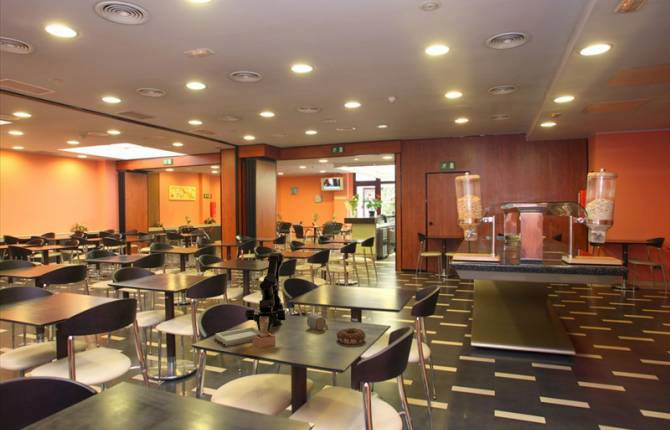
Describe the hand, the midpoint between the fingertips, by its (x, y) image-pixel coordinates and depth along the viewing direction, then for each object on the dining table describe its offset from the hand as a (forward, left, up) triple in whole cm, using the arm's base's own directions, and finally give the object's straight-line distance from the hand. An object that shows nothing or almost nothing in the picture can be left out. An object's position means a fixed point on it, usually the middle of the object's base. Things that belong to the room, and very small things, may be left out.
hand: (263, 331), depth 194 cm
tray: (+4, -16, -7) cm, 17 cm away
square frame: (-1, -1, -7) cm, 7 cm away
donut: (-37, +18, -7) cm, 42 cm away
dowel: (-1, -1, -7) cm, 7 cm away
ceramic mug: (-36, -8, -7) cm, 38 cm away
